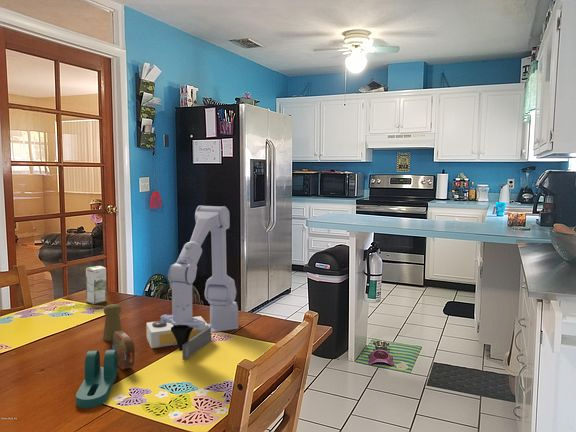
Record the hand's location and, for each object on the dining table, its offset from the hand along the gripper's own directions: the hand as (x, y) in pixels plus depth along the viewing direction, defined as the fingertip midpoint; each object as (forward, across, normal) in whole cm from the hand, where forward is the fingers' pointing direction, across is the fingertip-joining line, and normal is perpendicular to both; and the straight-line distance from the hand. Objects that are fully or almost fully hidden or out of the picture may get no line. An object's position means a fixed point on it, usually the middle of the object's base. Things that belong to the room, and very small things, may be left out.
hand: (182, 349), depth 134 cm
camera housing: (+2, -10, +11) cm, 15 cm away
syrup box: (+3, -67, +30) cm, 73 cm away
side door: (+2, +1, +6) cm, 7 cm away
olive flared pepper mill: (+3, -30, +3) cm, 30 cm away
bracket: (+3, -6, -26) cm, 27 cm away
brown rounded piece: (+3, -12, -11) cm, 17 cm away
